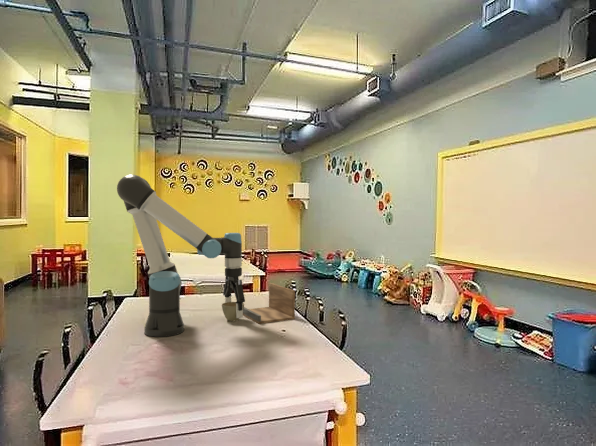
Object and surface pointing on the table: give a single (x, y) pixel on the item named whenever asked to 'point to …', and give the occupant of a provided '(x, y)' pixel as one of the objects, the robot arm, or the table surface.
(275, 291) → the brown piece
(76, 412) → the table surface
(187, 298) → the table surface
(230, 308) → the flower pot
